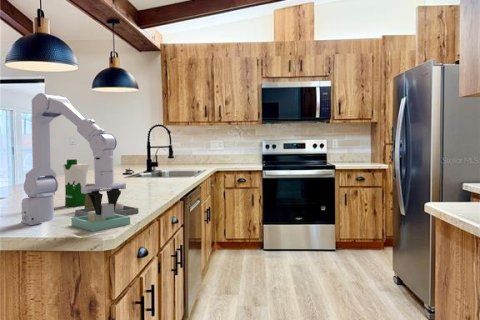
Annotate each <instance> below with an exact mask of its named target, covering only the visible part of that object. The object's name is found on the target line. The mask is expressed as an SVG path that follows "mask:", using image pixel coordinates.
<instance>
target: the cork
mask: <svg viewBox="0 0 480 320" xmlns="http://www.w3.org/2000/svg"><path fill="white" fill-rule="evenodd" d="M92 185H95V183H88V184H87V185H85V187H86V186H92ZM83 207H84V208H83V209H85V208H92V207H94V206H93V203H92V201H91V199H90V198H89V196H88V193H86V198H85V206H83Z"/></svg>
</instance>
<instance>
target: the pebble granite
mask: <svg viewBox="0 0 480 320" xmlns="http://www.w3.org/2000/svg"><path fill="white" fill-rule="evenodd" d="M123 205H124V202H122V201H121V202H118V201H117V203H116V206H115V210H114V212H116V211H122V210H123Z"/></svg>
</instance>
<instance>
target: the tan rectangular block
mask: <svg viewBox="0 0 480 320" xmlns="http://www.w3.org/2000/svg"><path fill="white" fill-rule="evenodd" d="M105 220H106V218H99V217H96V213H95V211H90V212H88V221H90V222H100V221H105Z"/></svg>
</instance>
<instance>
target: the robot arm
mask: <svg viewBox="0 0 480 320" xmlns="http://www.w3.org/2000/svg"><path fill="white" fill-rule="evenodd" d="M62 115H63V117H65V119H67V120H69V121H70V122H71V123H73V124H74V125H75V126H76V131H77V133H78V134H79V135H80V136H82V137H83V139H85V140H86V141H87V142H88V143H89V144H88V145H89V147H90V150H91V152H92V156H93V162H94V163H93V165H94V166H93V167H94V184H95V185H92V186H86V187H81V193H84V194H86V193H88V196H89V198H90V199H91V201H92V203H93V206H94V209H95V213H96V215H101V204H102V200H103V196H104V195H103V193H101V192H106V195H107V196H106V197H107V203H111V204H114V210H115V206H116V203H118V200H119V198H120V196H121V194H122V190H127V187H126V186H127V183H125V182H120V183H119V182H117V183H115V181H114V150H115V149H116V148H117V145H118V141H117V138H116V136H114V134H112V133H111V132H110V133H107V132H105V131H106V130H105V129H103V128H101V127H100V126H99V125H97V124H96V120H95V119H90V118H85V117H84V116H83V115H82V114H81V113H80V112H79V111H78V110H77V109H76V108H75V107H74V106H73V105H72V104H71V100H69V99H68V98H67V97H66V96H64V95H55V94H49V93H43V92H39V93H37V94H35V96H34V97H33V98H32V99H31V144H32V145H31V150H32V169H30V170H29V171H28V172H27V173H26V174H25V179H24V183H23V191H24V193H25V194H26V196H27V197H24V198H23V199H22V201H21V221H20V222H21V223H23V224H26V225H28V226H33V225H39V224H42V223H47V222H53V221H59V219H58V218H55V210H54V207H55V205H54V204H55V203H54V196H55V195H56V192H57V191H58V189H59V180H58V178H57V173H56V172H55V171H54V169H52V168H51V140H50V139H51V135H50V131H51V130H50V123H51V122H52V121H54V119H56V118H59V117H60V116H62Z"/></svg>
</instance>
